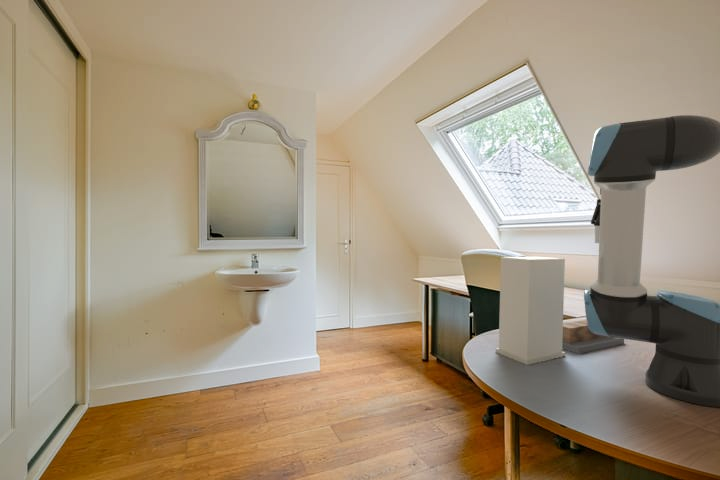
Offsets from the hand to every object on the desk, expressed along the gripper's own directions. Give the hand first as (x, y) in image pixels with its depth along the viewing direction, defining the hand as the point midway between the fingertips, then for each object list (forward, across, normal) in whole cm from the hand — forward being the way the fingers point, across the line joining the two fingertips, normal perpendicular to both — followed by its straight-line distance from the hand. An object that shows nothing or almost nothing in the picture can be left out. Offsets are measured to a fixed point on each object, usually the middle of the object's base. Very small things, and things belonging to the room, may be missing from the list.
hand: (611, 243), depth 119 cm
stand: (+35, -18, +35) cm, 52 cm away
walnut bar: (+33, -4, +11) cm, 35 cm away
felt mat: (+35, -4, +11) cm, 37 cm away
